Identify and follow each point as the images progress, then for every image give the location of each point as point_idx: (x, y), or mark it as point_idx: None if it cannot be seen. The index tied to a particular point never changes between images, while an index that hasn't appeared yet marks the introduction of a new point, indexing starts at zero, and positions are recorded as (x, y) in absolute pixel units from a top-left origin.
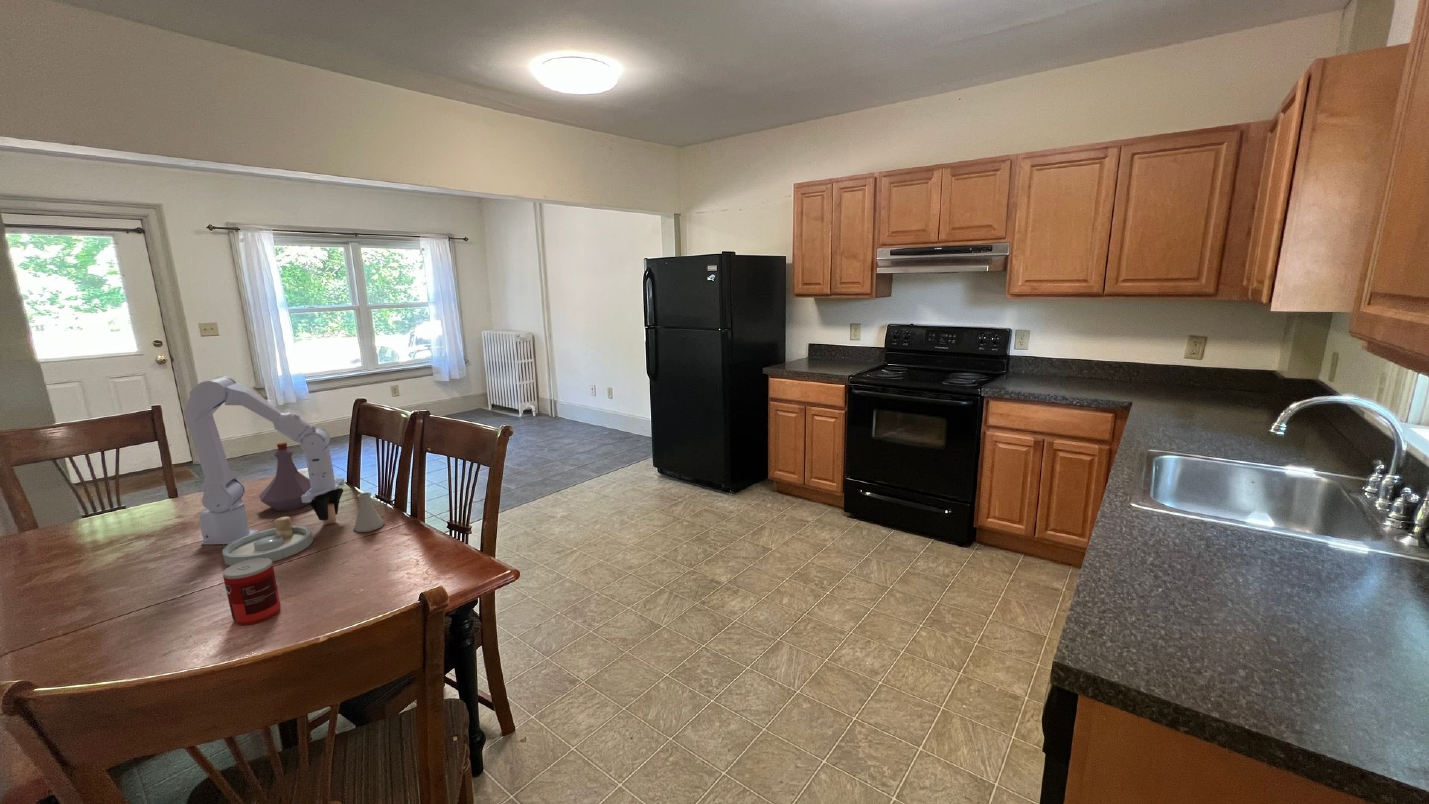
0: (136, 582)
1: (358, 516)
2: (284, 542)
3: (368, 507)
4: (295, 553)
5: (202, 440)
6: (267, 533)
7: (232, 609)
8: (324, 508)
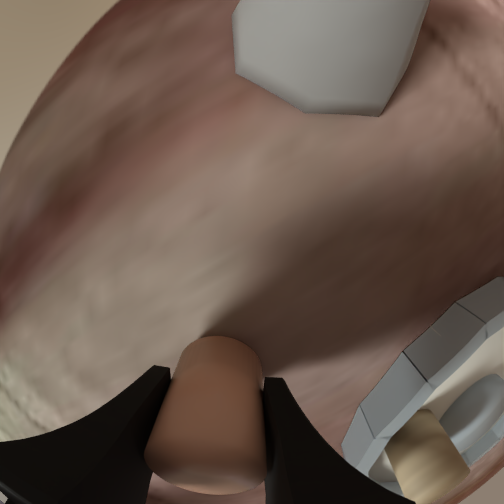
0: (470, 475)
1: (413, 32)
2: (468, 386)
3: None
4: None
5: None
6: None
7: None
8: (334, 450)
